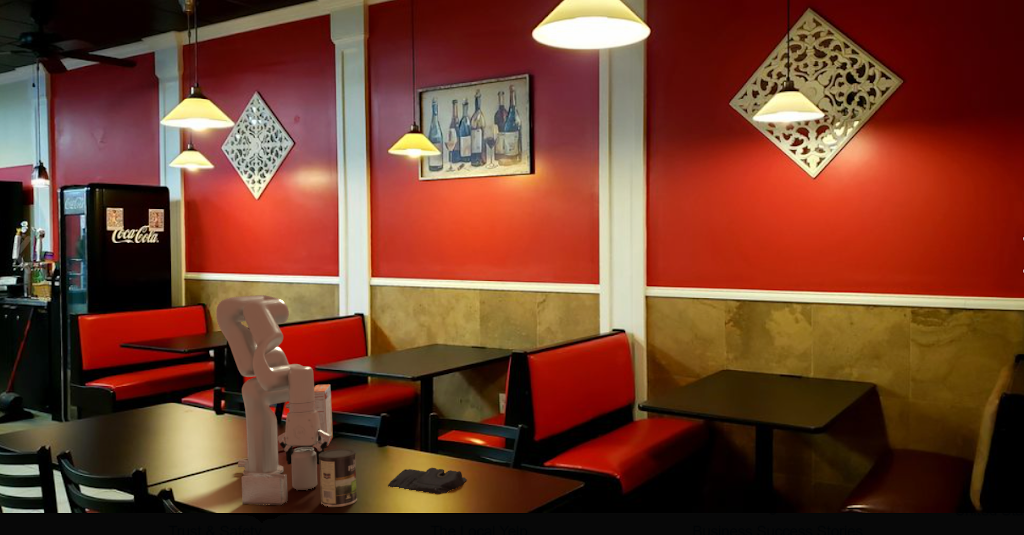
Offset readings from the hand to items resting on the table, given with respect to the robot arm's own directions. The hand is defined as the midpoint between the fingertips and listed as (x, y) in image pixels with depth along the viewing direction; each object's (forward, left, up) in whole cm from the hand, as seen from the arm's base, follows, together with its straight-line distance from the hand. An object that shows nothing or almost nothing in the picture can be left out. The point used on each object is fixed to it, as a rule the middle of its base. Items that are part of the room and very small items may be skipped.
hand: (305, 463), depth 243 cm
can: (-1, 0, -8) cm, 8 cm away
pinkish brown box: (-6, -15, -8) cm, 17 cm away
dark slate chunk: (+36, +9, -8) cm, 38 cm away
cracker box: (-20, +53, -8) cm, 58 cm away
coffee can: (+15, -11, -8) cm, 20 cm away
